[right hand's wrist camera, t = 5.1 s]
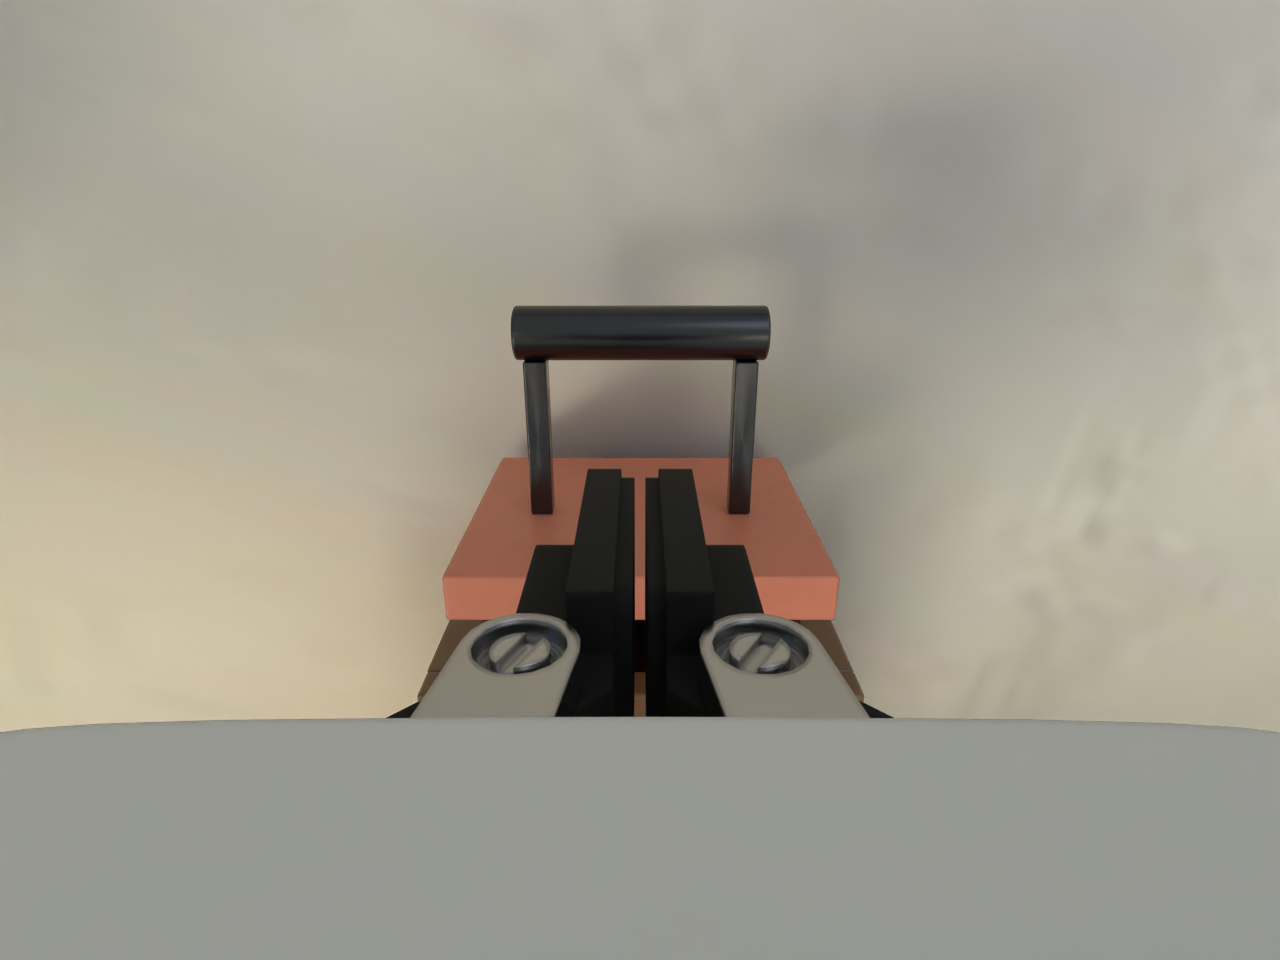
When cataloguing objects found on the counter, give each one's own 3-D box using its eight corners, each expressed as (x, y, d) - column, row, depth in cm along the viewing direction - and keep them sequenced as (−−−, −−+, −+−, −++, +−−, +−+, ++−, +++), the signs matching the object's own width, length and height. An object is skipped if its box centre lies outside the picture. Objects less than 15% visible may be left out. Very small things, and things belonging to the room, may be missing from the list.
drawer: (490, 284, 23) (414, 334, 16) (791, 284, 23) (867, 333, 16) (531, 864, 32) (496, 1081, 24) (749, 864, 32) (785, 1081, 24)
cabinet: (494, 515, 27) (415, 695, 18) (786, 514, 27) (866, 695, 18) (525, 909, 34) (480, 1190, 25) (755, 908, 34) (800, 1190, 25)
